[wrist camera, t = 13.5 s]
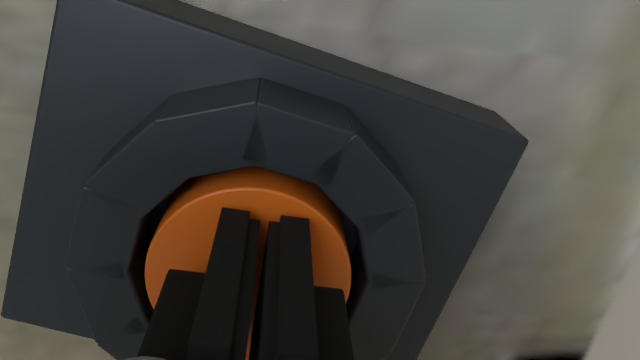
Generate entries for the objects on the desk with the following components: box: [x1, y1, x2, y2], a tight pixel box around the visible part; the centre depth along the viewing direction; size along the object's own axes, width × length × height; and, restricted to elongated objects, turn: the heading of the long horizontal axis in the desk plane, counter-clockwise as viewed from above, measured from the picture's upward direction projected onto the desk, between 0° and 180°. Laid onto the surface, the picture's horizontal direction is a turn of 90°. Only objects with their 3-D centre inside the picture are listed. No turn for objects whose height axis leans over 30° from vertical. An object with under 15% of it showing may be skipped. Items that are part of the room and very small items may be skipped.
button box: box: [1, 0, 528, 360], centre depth 13 cm, size 10×8×4 cm
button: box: [145, 166, 352, 360], centre depth 12 cm, size 4×4×2 cm
